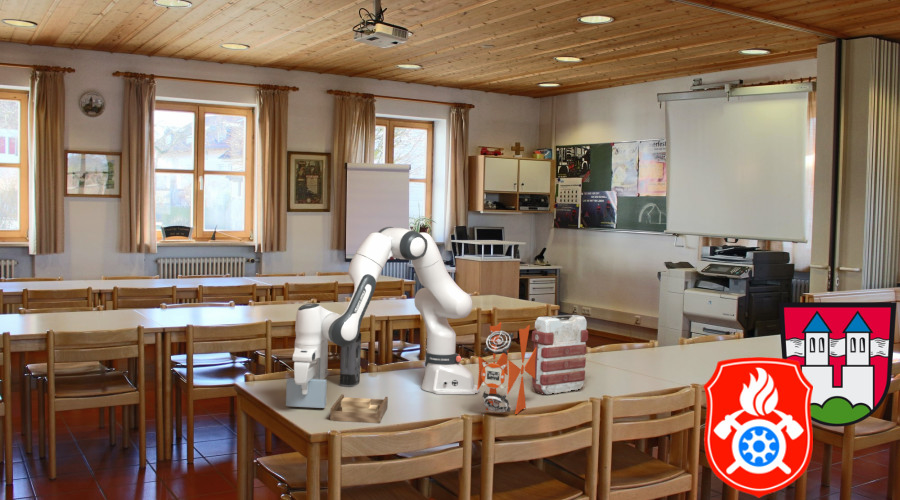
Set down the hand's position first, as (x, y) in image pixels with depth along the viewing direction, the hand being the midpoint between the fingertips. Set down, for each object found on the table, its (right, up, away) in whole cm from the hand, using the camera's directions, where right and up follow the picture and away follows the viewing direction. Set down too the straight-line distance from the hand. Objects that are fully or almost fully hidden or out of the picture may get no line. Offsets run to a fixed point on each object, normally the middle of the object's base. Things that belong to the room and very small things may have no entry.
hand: (306, 392), depth 267 cm
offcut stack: (+18, -7, -8) cm, 21 cm away
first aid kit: (+91, -8, +42) cm, 100 cm away
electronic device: (+10, -4, +40) cm, 41 cm away
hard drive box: (-5, -3, +45) cm, 46 cm away
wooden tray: (+19, -7, -4) cm, 20 cm away
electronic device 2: (+68, -8, +9) cm, 69 cm away
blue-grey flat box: (0, -5, 0) cm, 5 cm away
